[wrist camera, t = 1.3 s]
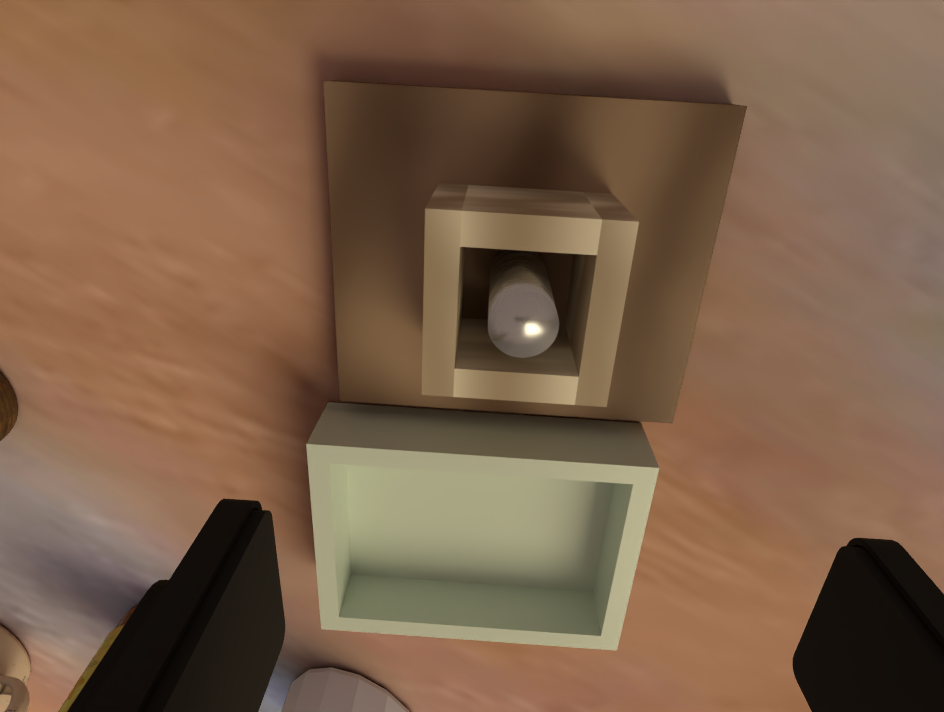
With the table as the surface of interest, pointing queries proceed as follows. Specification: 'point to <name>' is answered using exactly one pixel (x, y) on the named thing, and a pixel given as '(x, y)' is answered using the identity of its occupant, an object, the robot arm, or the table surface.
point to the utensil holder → (7, 407)
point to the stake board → (501, 165)
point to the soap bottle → (338, 693)
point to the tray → (477, 523)
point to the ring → (526, 229)
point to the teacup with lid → (13, 674)
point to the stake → (521, 304)
